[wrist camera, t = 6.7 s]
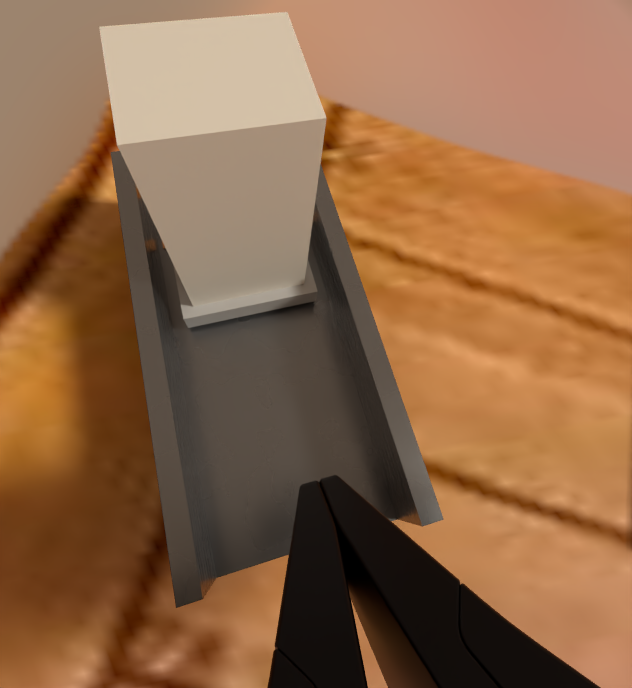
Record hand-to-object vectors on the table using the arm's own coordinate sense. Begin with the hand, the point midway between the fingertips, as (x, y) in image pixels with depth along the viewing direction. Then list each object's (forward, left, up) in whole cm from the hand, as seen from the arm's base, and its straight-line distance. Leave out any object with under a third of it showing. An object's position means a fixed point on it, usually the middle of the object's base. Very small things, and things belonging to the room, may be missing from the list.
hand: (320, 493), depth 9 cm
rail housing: (+7, 0, -9) cm, 11 cm away
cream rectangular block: (+10, 0, -8) cm, 13 cm away
